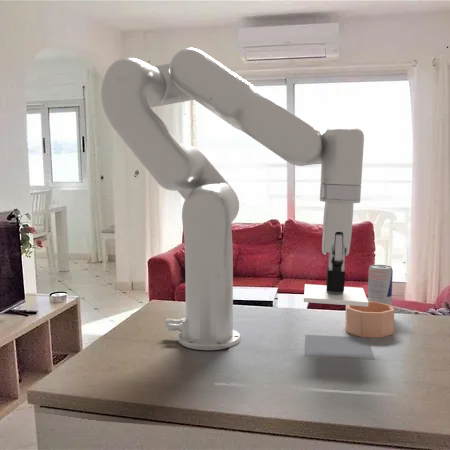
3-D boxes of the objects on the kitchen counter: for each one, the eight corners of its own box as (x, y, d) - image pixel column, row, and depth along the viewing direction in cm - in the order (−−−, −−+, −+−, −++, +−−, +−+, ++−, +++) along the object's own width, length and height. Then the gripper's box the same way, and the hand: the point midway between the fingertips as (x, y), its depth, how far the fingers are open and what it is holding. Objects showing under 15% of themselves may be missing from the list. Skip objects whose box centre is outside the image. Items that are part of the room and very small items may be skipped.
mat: (304, 357, 103) (304, 355, 103) (305, 336, 115) (305, 334, 115) (374, 361, 101) (374, 359, 101) (367, 339, 113) (367, 337, 113)
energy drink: (393, 316, 130) (395, 265, 129) (387, 321, 126) (388, 269, 124) (371, 312, 133) (372, 263, 132) (364, 318, 128) (365, 267, 127)
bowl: (347, 337, 114) (347, 311, 113) (344, 324, 124) (345, 300, 123) (395, 340, 113) (396, 313, 112) (389, 326, 122) (389, 302, 121)
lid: (303, 302, 102) (305, 271, 101) (304, 287, 113) (306, 260, 113) (368, 306, 100) (370, 275, 100) (362, 291, 112) (364, 263, 111)
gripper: (319, 190, 113) (314, 279, 115) (320, 195, 97) (315, 298, 99) (357, 192, 112) (351, 281, 114) (364, 197, 96) (358, 301, 98)
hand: (334, 288), depth 107 cm, fingers closed on lid, 3 cm apart
